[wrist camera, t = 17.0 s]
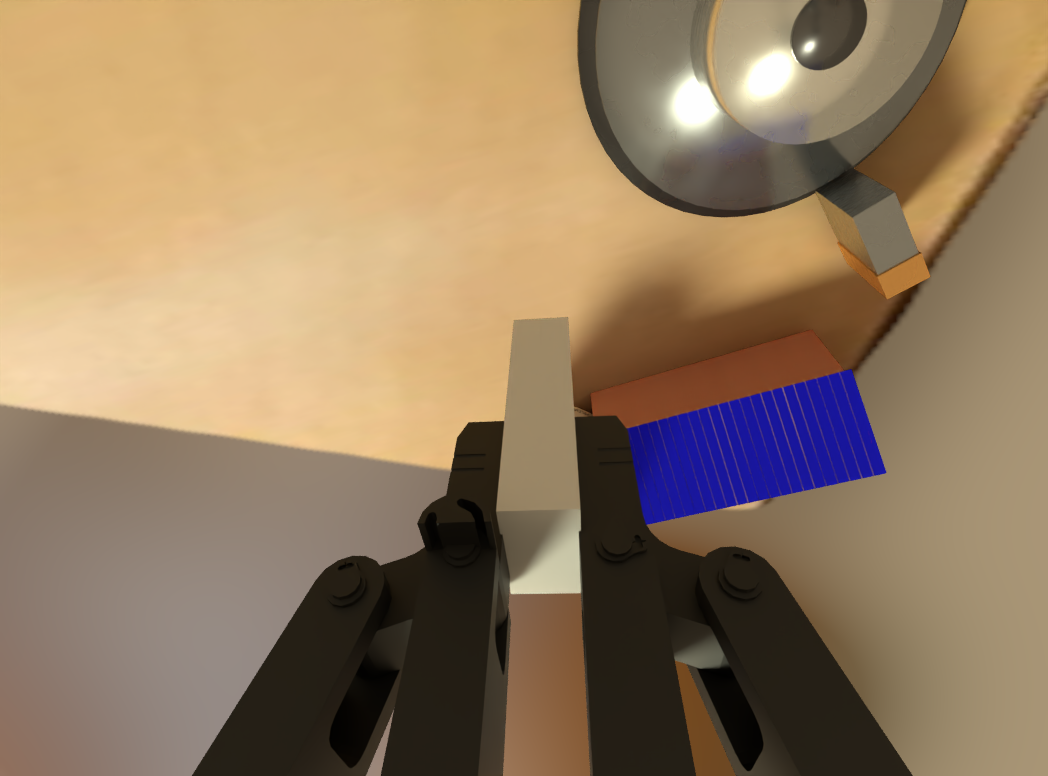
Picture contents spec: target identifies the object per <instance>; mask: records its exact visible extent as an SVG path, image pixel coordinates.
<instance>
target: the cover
mask: <svg viewBox="0 0 1048 776" xmlns="http://www.w3.org/2000/svg"><path fill="white" fill-rule="evenodd" d="M942 4H943V0H698V1H697V4H696V8H695V11H694V15H693V20H692V26H691V35H690V54H691V61H692V67H693V71H694V74H695V77H696V80H697V82H698V84H699V87H700V89H701V90H702V92H703V93H704V95H705V96H706V98H707V99H708V100H709V101H710V102H711V103H712V105H713V106H715V107H716V108H717V109H718V110H720V111H721V112H722V113H724V114H725V115H727V116H728V117H730V118H731V119H733V120H734V121H736V122H737V123H739V124H740V125H742V126H743V127H745V128H746V129H748V130H749V131H750V132H752V133H754V134H756V135H757V136H759V137H761V138H764V139H766V140H769V141H772V142H777V143H782V144H807V143H813V142H818V141H822V140H825V139H828V138H831V137H834V136H837V135H839V134H841V133H843V132H845V131H847V130H849V129H851V128H853V127H854V126H856V125H857V124H859V123H861V122H862V121H864V120H865V119H867V118H868V117H869V116H871V115H872V114H873V113H875V112H876V111H877V110H878V109H879V108H880V107H882V106H883V105H884V104H885V103H886V102H887V101H888V100H889V99H890V98H891V97H892V96H893V95H894V94H895V93H896V92H897V91H898V90H899V88H900V87H901V86H902V85H903V83H904V82H905V81H906V80H907V78H908V77H909V76H910V75H911V73H912V72H913V70H914V69H915V67H916V65H917V64H918V62H919V61H920V59H921V58H922V56H923V54H924V52H925V50H926V48H927V46H928V44H929V42H930V40H931V37H932V35H933V33H934V30H935V28H936V25H937V22H938V19H939V15H940V12H941V9H942Z"/></svg>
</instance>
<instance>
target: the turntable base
mask: <svg viewBox="0 0 1048 776" xmlns="http://www.w3.org/2000/svg"><path fill="white" fill-rule="evenodd" d="M599 1H600V0H581V1H580V11H579V20H578V30H577V56H578V67H579V75H580V84H581V88H582V92H583V96H584V101H585V105H586V109H587V112H588V114H589V117H590V119H591V122H592V125H593V127H594V130H595V133H596V135H597V136H598V138H599V140H600V142H601V144H602V146H603V148H604V149H605V151H606V153H607V154H608V156H609V157H610V158H611V160H612V161H613V162H614V164H615V165H616V167H617V168H618V169H619V170H620V171H621V172H622V173H623V174H624V175H625V176H626V177H627V178H628V179H629V180H630V181H631V182H632V184H634V185H635V186H636V187H638V188H639V189H640V190H642V191H643V192H644V193H646V194H647V195H648V196H650V197H652V198H654V199H656V200H657V201H659V202H661V203H663V204H665V205H667V206H670V207H672V208H675V209H678V210H681V211H683V212H688V213H692V214H697V215H701V216H712V217H738V216H747V215H753V214H759V213H764V212H768V211H771V210H775V209H778V208H781V207H785V206H787V205H790V204H792V203H795V202H797V201H799V200H802V199H804V198H807V197H809V196H810V195H812V194H814V193H815V191H814V190H813V191H811V192H808V193H806V194H804V195H802V196H799V197H797V198H794V199H791V200H788V201H785V202H782V203H779V204H776V205H771V206H766V207H761V208H756V209H743V210H724V209H713V208H708V207H703V206H697V205H695V204H692V203H689V202H686V201H683V200H680V199H678V198H676V197H674V196H672V195H671V194H669V193H667V192H665V191H663V190H662V189H660V188H659V187H658V186H656V185H655V184H654V183H652V182H651V181H649V180H648V179H647V178H646V177H645V176H644V175H643V174H642V173H641V172H640V171H639V170H638V169H637V168H636V167H635V166H634V164H633V163H632V162H631V160H630V159H629V158H628V156H627V155H626V154H625V152H624V151H623V150H622V148H621V146H620V144H619V142H618V140H617V139H616V137H615V135H614V133H613V131H612V129H611V127H610V124H609V121H608V119H607V116H606V114H605V111H604V108H603V104H602V100H601V96H600V92H599V88H598V82H597V74H596V65H595V31H596V21H597V12H598V6H599ZM966 1H967V0H965V3H964V6H963V9H962V12H961V15H960V18H961V16H962V13H963V10H964V7H965V4H966ZM960 18H959V21H960ZM959 21H958V24H959ZM958 24H957V27H958ZM957 27H956V29H955V32H956V30H957ZM955 32H954V34H953V36H952V39H953V37H954V35H955ZM952 39H951V41H952ZM951 41H950V43H951ZM950 43H949V45H950ZM949 45H948V48H949ZM948 48H947V50H948ZM947 50H946V52H947ZM946 52H945V54H946ZM945 54H944V56H945ZM944 56H943V58H944ZM943 58H942V60H943ZM942 60H941V62H942ZM941 62H940V64H941ZM940 64H939V65H938V67H939V66H940ZM938 67H937V69H938ZM937 69H936V71H937ZM936 71H935V73H936ZM935 73H934V74H935ZM934 74H933V76H934ZM933 76H932V78H933ZM932 78H931V79H932ZM930 81H931V80H930ZM929 83H930V82H929ZM929 83H928V85H929ZM928 85H927V86H928ZM927 86H926V87H925V89H926V88H927ZM925 89H924V90H923V92H924V91H925ZM923 92H922V93H921V95H922V94H923ZM921 95H920V96H919V98H920V97H921ZM919 98H918V99H919ZM918 99H917V101H918ZM917 101H916V102H917ZM916 102H915V104H916ZM915 104H914V105H915ZM914 105H913V106H914ZM913 106H912V108H913ZM912 108H911V109H912ZM911 109H910V110H909V111H908V112H907V114H906V115H905V116H904V117H903V119H904V118H905V117H906V116H907V115H908V113H909V112H910V111H911ZM903 119H902V120H903ZM902 120H901V121H900V122H899V123H898V125H899V124H900V123H901V122H902ZM898 125H897V126H898ZM897 126H896V127H897ZM896 127H895V128H894V129H893V130H892V131H891V132H890V133H889V134H888V135H887V136H886V137H885V138H884V139H883V140H882V141H881V142H880V143H879V144H878V146H879V145H880V144H881V143H882V142H883V141H884V140H885V139H887V138H888V137H889V136H890V135H891V133H892V132H893V131H894V130H895V129H896ZM878 146H876V147H875V148H874V149H873V150H872V151H871V152H869V153H868V154H867V155H866V156H865V157H864V158H862V159H861V160H860V161H859V162H858V163H856V164H855V165H854V166H852V167H851V168H854V167H856V166H857V165H858V164H859V163H860V162H862V161H863V160H864V159H865V158H867V157H868V156H869V155H870V154H871V153H872V152H873V151H874V150H875V149H876V148H877V147H878Z"/></svg>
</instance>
